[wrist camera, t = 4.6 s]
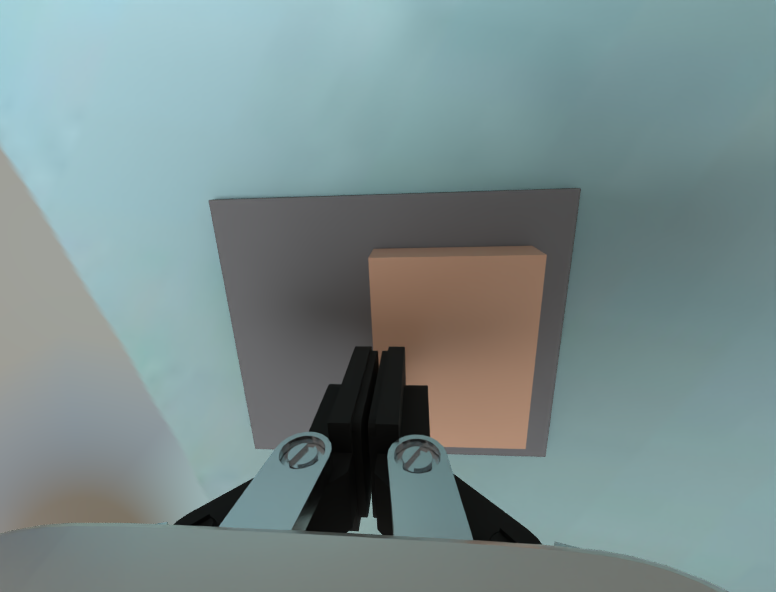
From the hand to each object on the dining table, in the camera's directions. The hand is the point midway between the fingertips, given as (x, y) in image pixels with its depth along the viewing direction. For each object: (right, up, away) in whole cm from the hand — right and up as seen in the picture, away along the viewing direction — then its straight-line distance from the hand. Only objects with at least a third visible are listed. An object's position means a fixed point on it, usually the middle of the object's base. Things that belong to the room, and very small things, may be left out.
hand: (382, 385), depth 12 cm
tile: (0, +1, +2) cm, 3 cm away
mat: (0, +1, +4) cm, 4 cm away
